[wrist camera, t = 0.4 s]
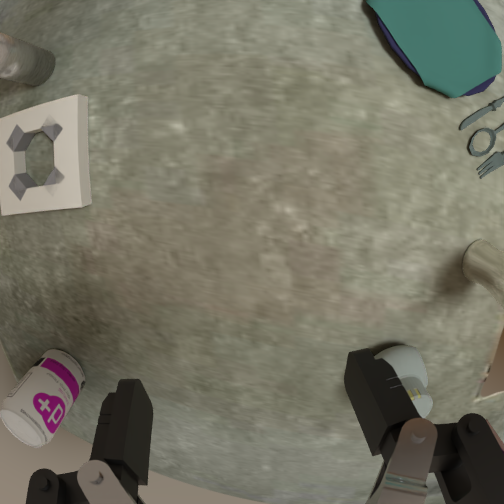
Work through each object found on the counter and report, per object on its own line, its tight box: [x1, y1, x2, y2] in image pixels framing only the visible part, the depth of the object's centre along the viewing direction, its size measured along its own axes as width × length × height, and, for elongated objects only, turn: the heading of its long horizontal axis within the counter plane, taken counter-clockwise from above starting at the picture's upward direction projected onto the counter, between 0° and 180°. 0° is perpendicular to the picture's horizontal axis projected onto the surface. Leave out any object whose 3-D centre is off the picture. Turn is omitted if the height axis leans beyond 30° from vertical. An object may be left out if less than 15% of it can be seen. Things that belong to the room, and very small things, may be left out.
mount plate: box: [0, 94, 92, 216], centre depth 31 cm, size 13×14×2 cm
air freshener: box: [374, 345, 433, 418], centre depth 36 cm, size 11×8×10 cm
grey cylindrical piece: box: [0, 33, 55, 86], centre depth 22 cm, size 5×5×14 cm
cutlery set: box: [366, 0, 504, 179], centre depth 28 cm, size 20×30×2 cm, turn 34°
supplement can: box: [0, 349, 85, 448], centre depth 35 cm, size 8×8×15 cm
